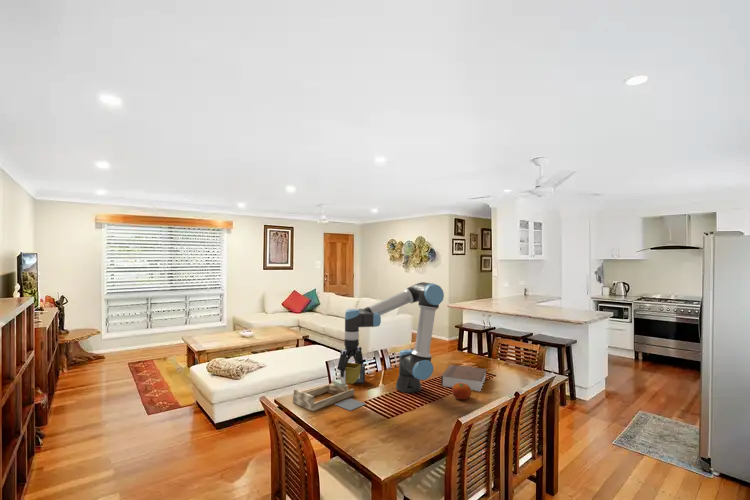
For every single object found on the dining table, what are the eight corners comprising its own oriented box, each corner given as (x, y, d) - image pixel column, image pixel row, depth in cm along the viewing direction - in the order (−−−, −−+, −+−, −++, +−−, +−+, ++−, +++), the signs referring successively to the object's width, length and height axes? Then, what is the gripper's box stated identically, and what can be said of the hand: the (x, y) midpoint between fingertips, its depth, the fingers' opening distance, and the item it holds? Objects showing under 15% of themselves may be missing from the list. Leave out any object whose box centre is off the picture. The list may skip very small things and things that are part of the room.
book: (440, 386, 234) (441, 376, 234) (449, 374, 260) (449, 364, 260) (481, 392, 225) (481, 381, 225) (486, 379, 251) (486, 369, 251)
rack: (354, 395, 215) (354, 383, 215) (312, 411, 192) (313, 397, 192) (334, 388, 226) (334, 376, 226) (292, 402, 203) (293, 389, 203)
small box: (365, 380, 241) (365, 364, 242) (363, 384, 235) (364, 367, 235) (348, 379, 242) (349, 363, 243) (347, 383, 236) (347, 366, 236)
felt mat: (366, 404, 202) (366, 403, 202) (350, 411, 193) (350, 410, 193) (349, 398, 210) (349, 397, 210) (334, 404, 201) (334, 404, 201)
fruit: (458, 393, 222) (459, 379, 222) (474, 398, 214) (474, 384, 214) (448, 398, 214) (448, 383, 214) (464, 403, 207) (464, 388, 207)
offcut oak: (348, 389, 217) (348, 385, 217) (345, 391, 214) (345, 387, 214) (332, 387, 221) (332, 382, 221) (329, 389, 217) (329, 385, 217)
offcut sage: (345, 385, 216) (345, 382, 216) (340, 387, 214) (340, 383, 214) (338, 382, 221) (338, 379, 221) (332, 384, 219) (333, 380, 219)
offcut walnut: (349, 395, 216) (349, 390, 216) (345, 397, 212) (345, 392, 212) (332, 391, 222) (332, 386, 222) (328, 393, 218) (328, 388, 218)
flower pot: (361, 380, 205) (361, 364, 205) (355, 385, 196) (355, 368, 196) (346, 378, 207) (346, 362, 208) (339, 383, 199) (339, 366, 199)
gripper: (360, 334, 213) (359, 374, 213) (330, 340, 196) (329, 383, 196) (370, 336, 208) (369, 377, 208) (341, 343, 191) (339, 387, 191)
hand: (350, 380), depth 202 cm, fingers closed on flower pot, 10 cm apart
